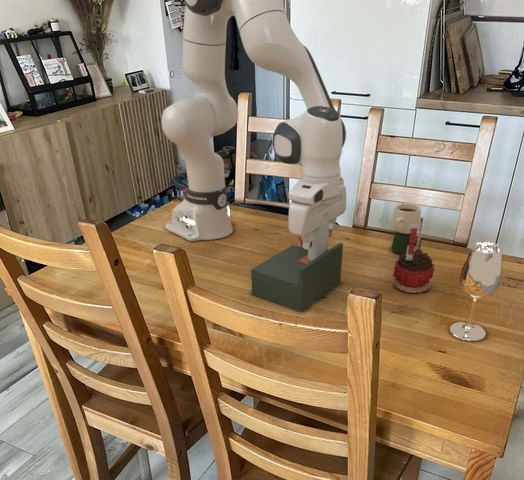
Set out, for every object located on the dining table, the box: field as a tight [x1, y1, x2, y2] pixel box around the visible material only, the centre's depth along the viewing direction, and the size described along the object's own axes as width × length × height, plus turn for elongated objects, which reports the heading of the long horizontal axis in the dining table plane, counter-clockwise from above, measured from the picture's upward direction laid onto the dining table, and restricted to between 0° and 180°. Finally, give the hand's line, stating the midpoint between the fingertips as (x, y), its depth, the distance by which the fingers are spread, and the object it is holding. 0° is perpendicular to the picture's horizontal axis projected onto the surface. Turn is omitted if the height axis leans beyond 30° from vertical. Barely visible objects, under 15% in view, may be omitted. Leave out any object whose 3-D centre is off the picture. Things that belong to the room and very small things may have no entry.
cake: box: [392, 216, 435, 294], centre depth 128 cm, size 11×9×18 cm
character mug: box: [390, 203, 422, 254], centre depth 147 cm, size 11×7×13 cm, turn 138°
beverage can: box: [308, 213, 329, 261], centre depth 127 cm, size 5×5×12 cm
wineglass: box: [449, 241, 503, 342], centre depth 109 cm, size 8×8×20 cm
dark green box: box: [250, 242, 344, 313], centre depth 130 cm, size 15×18×11 cm
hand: (318, 241), depth 128 cm, fingers open, 8 cm apart
